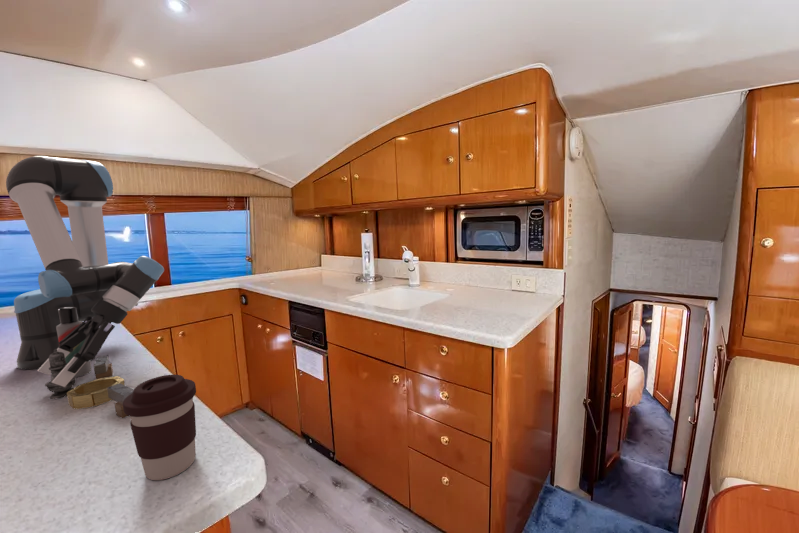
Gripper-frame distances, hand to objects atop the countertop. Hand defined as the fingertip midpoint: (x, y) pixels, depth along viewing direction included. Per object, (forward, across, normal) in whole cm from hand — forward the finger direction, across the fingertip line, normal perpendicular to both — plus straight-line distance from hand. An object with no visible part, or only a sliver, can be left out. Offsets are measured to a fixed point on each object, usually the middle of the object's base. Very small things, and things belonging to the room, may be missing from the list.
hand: (50, 378), depth 86 cm
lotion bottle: (-2, +13, -9) cm, 16 cm away
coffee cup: (+1, -55, -6) cm, 55 cm away
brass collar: (-1, -11, -8) cm, 13 cm away
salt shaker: (+2, 0, -5) cm, 6 cm away
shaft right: (-1, -25, -8) cm, 26 cm away
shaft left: (-4, +2, -11) cm, 12 cm away
